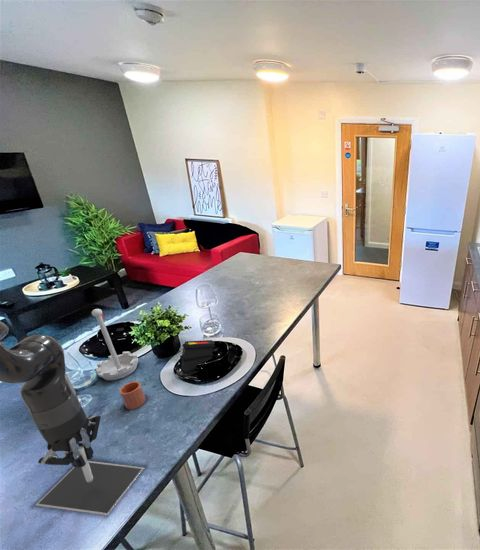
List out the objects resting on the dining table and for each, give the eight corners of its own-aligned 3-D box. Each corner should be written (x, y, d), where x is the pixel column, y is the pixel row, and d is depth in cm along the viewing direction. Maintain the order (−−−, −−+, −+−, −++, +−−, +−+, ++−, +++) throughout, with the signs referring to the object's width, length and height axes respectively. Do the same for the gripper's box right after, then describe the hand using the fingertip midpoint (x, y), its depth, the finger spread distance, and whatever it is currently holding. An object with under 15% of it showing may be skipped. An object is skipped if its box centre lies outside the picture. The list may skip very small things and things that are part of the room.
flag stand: (138, 376, 117) (115, 313, 104) (96, 388, 111) (66, 322, 98) (142, 357, 127) (121, 298, 115) (103, 367, 121) (77, 305, 109)
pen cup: (137, 411, 102) (130, 394, 99) (122, 409, 102) (115, 393, 99) (150, 398, 107) (144, 382, 104) (135, 397, 108) (129, 380, 104)
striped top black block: (173, 375, 116) (183, 341, 115) (206, 371, 126) (216, 339, 126) (176, 380, 114) (187, 345, 113) (210, 375, 124) (220, 343, 123)
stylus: (90, 485, 78) (79, 452, 72) (85, 483, 78) (74, 450, 72) (95, 479, 79) (85, 446, 73) (90, 478, 79) (79, 445, 73)
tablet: (108, 517, 73) (106, 515, 73) (36, 507, 75) (34, 505, 74) (145, 469, 84) (144, 467, 84) (81, 461, 86) (80, 459, 85)
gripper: (73, 389, 74) (96, 436, 81) (8, 438, 62) (42, 488, 69) (100, 393, 73) (121, 439, 80) (40, 442, 61) (71, 492, 68)
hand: (84, 461), depth 74 cm, fingers closed on stylus, 1 cm apart
